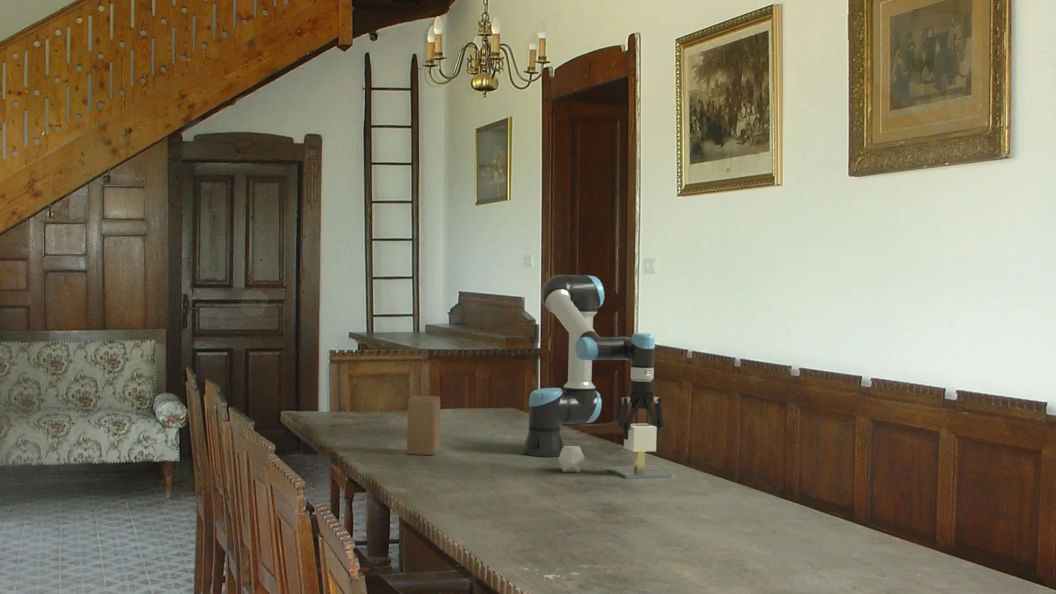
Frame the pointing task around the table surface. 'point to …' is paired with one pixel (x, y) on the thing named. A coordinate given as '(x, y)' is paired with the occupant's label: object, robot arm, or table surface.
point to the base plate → (639, 469)
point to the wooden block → (423, 425)
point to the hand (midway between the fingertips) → (639, 448)
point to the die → (571, 459)
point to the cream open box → (642, 437)
